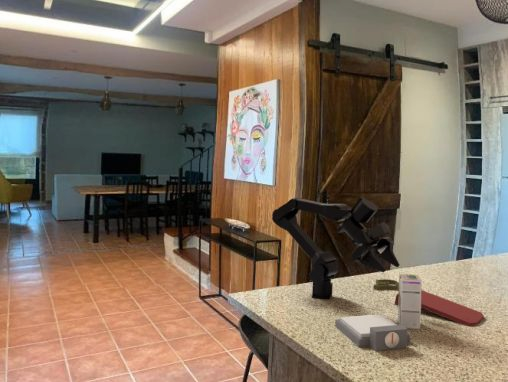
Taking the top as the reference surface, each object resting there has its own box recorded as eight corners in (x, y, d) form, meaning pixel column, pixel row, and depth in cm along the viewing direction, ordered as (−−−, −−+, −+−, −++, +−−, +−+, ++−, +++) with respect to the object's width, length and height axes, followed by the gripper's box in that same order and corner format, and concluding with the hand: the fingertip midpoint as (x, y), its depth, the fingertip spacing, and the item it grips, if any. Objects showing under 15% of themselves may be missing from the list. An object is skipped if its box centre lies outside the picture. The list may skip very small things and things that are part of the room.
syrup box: (420, 329, 122) (423, 280, 121) (399, 327, 123) (401, 278, 122) (417, 322, 128) (419, 274, 127) (396, 320, 129) (398, 273, 128)
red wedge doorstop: (482, 328, 134) (407, 298, 151) (486, 314, 133) (409, 285, 150) (470, 339, 125) (391, 306, 142) (474, 324, 125) (394, 292, 141)
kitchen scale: (335, 326, 123) (335, 309, 123) (381, 322, 127) (382, 306, 127) (365, 353, 106) (366, 333, 106) (417, 347, 110) (418, 328, 110)
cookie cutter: (368, 289, 161) (368, 284, 161) (378, 282, 171) (378, 277, 171) (417, 298, 151) (417, 293, 151) (425, 290, 161) (425, 285, 161)
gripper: (356, 217, 129) (393, 255, 121) (386, 213, 143) (421, 247, 135) (336, 242, 135) (370, 280, 127) (367, 236, 148) (399, 270, 140)
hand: (391, 268), depth 132 cm, fingers open, 9 cm apart
